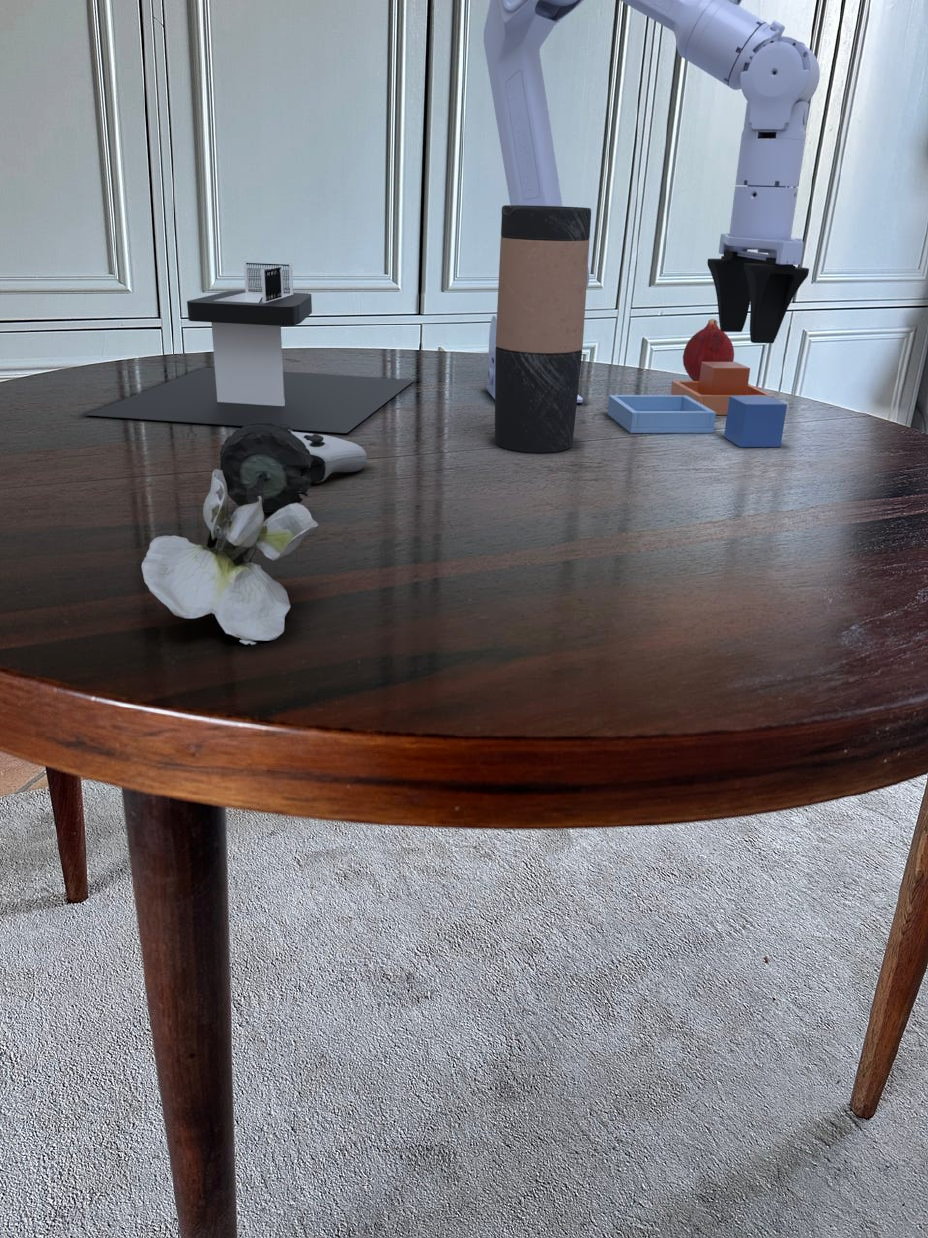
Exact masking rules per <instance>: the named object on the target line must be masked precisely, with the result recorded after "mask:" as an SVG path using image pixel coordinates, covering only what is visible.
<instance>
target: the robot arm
mask: <svg viewBox="0 0 928 1238" xmlns="http://www.w3.org/2000/svg"><path fill="white" fill-rule="evenodd" d="M584 1H585V0H489V5H488V9H487V14H486V19H485V23H484V28H483V46H484V52H485V57H486V58H485V59H486V64H487V70H488V71H487V72H488V77H489V82H490V89H491V94H492V101H493V107H494V114H495V121H496V126H497V132H498V139H499V144H500V150H501V156H502V162H503V168H504V174H505V181H506V186H507V193H508V201H509V205H529V206H562V207H563V201H562V194H561V186H560V181H559V175H558V174H559V173H558V167H557V160H556V154H555V147H554V140H553V135H552V127H551V120H550V113H549V106H548V100H547V94H546V87H545V80H544V72H543V67H542V60H541V51H540V50H541V48H542V46H543V44H544V43H545V41H546V39H547V38H548V37H549V35H550V34H551V33H552V31H553V29H554V27H556V26H557V25H558V24H559V23H560V22H561V21H562V20H564V19H565V18H566V17H567V16H569V15H570V14H571V13H572V12H573V11H574V10H575V9H576V8H578V7H579V6H580V5H581V4H582V3H583V2H584ZM619 1H620V2H622V3H624V4H625V5H627V6H628V7H631V8H632V9H634V10H636V11H638V12H639V13H640V14H643V15H644V16H646V17H648V18H650V19H651V20H653V21H654V22H656V23H658V24H660V25H661V26H663V27H665V28H667V29H668V30H670V31H672V32H673V34H674V39H675V43H676V49H677V53H678V55H679V57H681V58H683V59H684V60H686V61H687V62H689V63H690V64H692V65H694V66H695V67H697V68H699V69H700V70H702V71H703V72H705V73H706V74H708V75H710V76H712V77H713V78H715V79H716V80H718V81H719V82H721V83H722V84H724V85H725V86H727V87H728V88H730V89H732V90H734V91H739V90H741V92H742V95H743V97H744V98H745V100H746V101H747V102H746V106H745V114H744V122H743V129H742V131H741V137H740V143H739V144H740V145H739V153H738V161H737V167H736V168H737V169H736V177H735V183H734V185H735V186H734V191H733V201H732V208H731V217H730V224H729V232H728V233H720V238H719V247H718V254H720V255H721V258H708V259H707V262H706V263H707V268H708V269H709V272H710V274H711V277H712V281H713V284H714V287H715V288H714V289H715V294H716V303H717V312H718V321H719V322H718V323H719V329H720V330H721V331H722V332H724V333H742V332H743V330H744V328H745V325H746V321H747V316H748V313H749V338H750V343H752V344H774V343H775V342H776V339H777V336H778V334H779V331H780V329H781V326H782V323H783V321H784V318H785V316H786V314H787V311H788V308H789V307H790V304H791V302H792V300H793V299H794V297H795V295H796V294H797V291H798V290H799V289H800V287H801V286H802V284H803V283H804V282H805V281H806V279H807V278H808V276H809V272H810V268H808V267H803V266H801V264H802V257H803V251H804V244H805V242H804V241H803V238H801V237H800V238H798V237H792V234H793V226H794V221H795V219H794V218H795V213H796V207H797V199H798V192H799V186H800V181H801V173H802V166H803V161H804V160H803V159H804V153H805V147H806V139H807V132H806V128H807V122H808V118H809V107H810V104H809V101H810V100H811V99H812V98H813V97H814V95H815V93H816V91H817V88H818V86H819V82H820V76H821V75H820V74H821V72H820V65H819V62H818V59H817V57H816V55H815V53H814V52H813V51H812V50H811V49H810V48H809V47H807V45H806V44H805V43H804V42H802V41H800V40H797V39H795V38H793V37H790V36H785V35H783V33H784V31H785V30H786V27H785V25H784V24H782V23H781V22H779V21H777V20H773V21H772V22H771V23H768V22H767V21H766V20H764V19H762V18H761V17H759V16H757V15H756V14H754V13H752V12H751V11H749V10H748V9H746V8H744V7H743V6H741V3H742V1H743V0H619ZM751 250H752V251H751ZM755 251H757V252H755ZM796 265H797V266H796ZM589 283H590V270H589V267H588V272H587V287H586V291H587V289H588V287H589ZM749 309H750V312H749ZM496 325H497V314H494V315H493V316H492V317H491V321H490V326H489V335H488V358H487V359H488V360H487V361H488V363H487V385H486V388H485V389H486V391H487V392H488V393H489V394H490V396H491V397H492V398H493V399H494V400H495V350H496ZM583 402H584V398H583V397H582V396H580V395H579V394H578V398H577V404H582V403H583Z"/></svg>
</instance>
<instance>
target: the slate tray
mask: <svg viewBox="0 0 928 1238" xmlns="http://www.w3.org/2000/svg"><path fill="white" fill-rule="evenodd" d="M606 414H607V415H608V416H609V417H610V418H611V419H613V420H614V421H615V422H616V423H617V424H618V425H620V426H621V427H622V428H624V429H625V430H626V431H627V432H628V433H630V434H713V433H714V432H715V423H716V416H717V415H716V412H714V411H713V410H711V409H709V408H707V407H706V406H704V405H702V404H701V403H699V402H697V401H695V400H694V399H692V398H690V397H689V396H687V395H682V396H681V395H671V394H666V395H665V394H664V395H663V394H660V395H659V394H657V395H656V394H655V395H654V394H639V395H638V394H615V395H614V394H610V395H608V402H607V413H606Z"/></svg>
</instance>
